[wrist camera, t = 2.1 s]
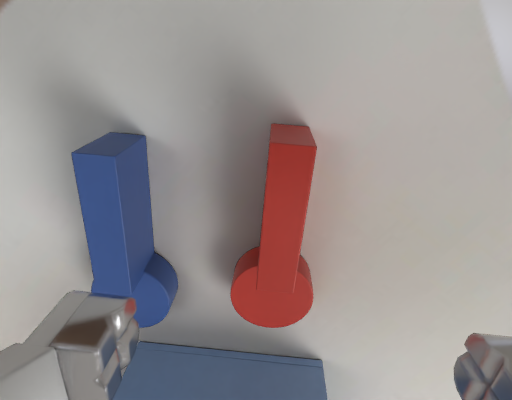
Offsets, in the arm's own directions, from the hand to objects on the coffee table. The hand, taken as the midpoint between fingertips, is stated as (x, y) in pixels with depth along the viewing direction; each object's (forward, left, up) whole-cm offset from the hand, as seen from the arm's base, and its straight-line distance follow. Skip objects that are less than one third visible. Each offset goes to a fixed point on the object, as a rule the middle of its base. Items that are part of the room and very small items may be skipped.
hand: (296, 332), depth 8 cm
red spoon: (+2, 0, -8) cm, 8 cm away
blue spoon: (+3, -7, -8) cm, 11 cm away
